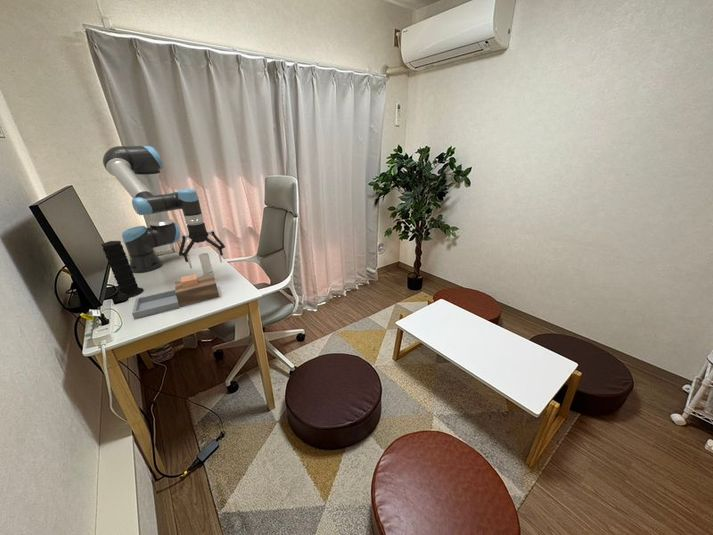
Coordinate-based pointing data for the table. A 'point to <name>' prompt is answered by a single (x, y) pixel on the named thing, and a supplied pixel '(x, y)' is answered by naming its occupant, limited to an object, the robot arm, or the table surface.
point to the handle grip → (121, 269)
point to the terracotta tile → (189, 281)
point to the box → (155, 304)
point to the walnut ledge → (197, 291)
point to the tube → (206, 264)
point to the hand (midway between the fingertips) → (206, 264)
